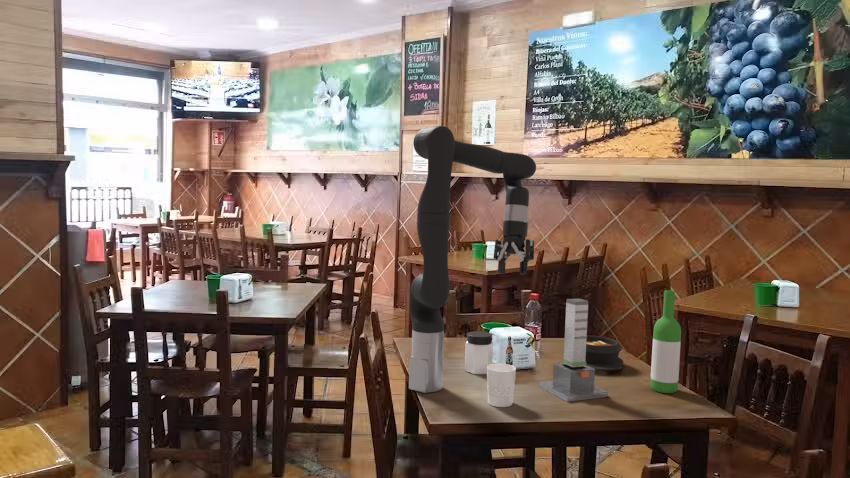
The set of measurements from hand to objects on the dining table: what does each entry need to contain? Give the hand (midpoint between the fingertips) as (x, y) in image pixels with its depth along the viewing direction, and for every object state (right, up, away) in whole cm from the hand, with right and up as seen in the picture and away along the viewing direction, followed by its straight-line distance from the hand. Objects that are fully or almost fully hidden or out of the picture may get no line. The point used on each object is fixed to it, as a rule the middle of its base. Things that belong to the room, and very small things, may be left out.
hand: (512, 274), depth 192 cm
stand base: (+17, -34, -7) cm, 38 cm away
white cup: (-6, -35, -18) cm, 39 cm away
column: (+17, -26, -7) cm, 32 cm away
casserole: (+31, -32, +23) cm, 50 cm away
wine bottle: (+45, -35, -3) cm, 57 cm away
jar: (-9, -32, +12) cm, 35 cm away
